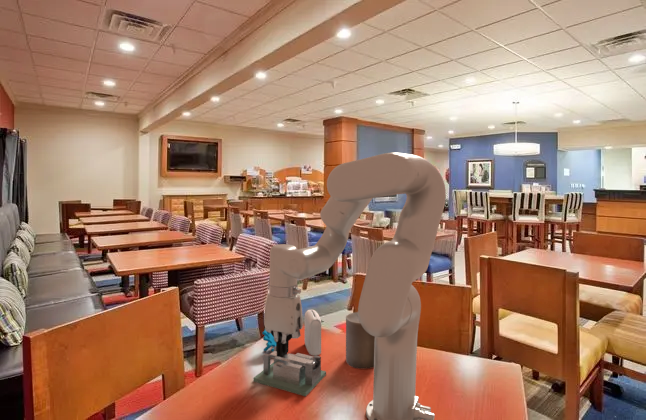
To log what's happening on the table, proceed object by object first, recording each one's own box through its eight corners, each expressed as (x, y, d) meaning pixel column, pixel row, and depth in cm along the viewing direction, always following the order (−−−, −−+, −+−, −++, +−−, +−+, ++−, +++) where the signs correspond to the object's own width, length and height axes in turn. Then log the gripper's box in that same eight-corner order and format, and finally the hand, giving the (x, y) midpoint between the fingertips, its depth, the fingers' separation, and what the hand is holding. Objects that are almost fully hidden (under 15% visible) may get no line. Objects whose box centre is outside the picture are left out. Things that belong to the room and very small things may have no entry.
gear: (279, 356, 115) (260, 329, 118) (266, 368, 116) (247, 341, 119) (294, 346, 125) (276, 321, 128) (282, 357, 127) (264, 332, 129)
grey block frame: (323, 374, 106) (323, 354, 105) (309, 388, 99) (309, 367, 98) (277, 363, 112) (277, 344, 112) (261, 375, 105) (261, 355, 105)
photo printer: (303, 342, 129) (303, 306, 128) (315, 341, 130) (316, 305, 129) (309, 356, 119) (309, 317, 118) (322, 355, 120) (322, 316, 119)
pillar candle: (384, 361, 116) (384, 312, 115) (364, 373, 109) (364, 321, 108) (358, 351, 123) (359, 305, 122) (338, 362, 116) (338, 313, 115)
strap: (317, 364, 104) (318, 360, 103) (312, 369, 101) (312, 365, 101) (275, 353, 109) (275, 349, 109) (268, 358, 107) (268, 354, 106)
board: (326, 374, 108) (326, 371, 108) (305, 396, 97) (305, 392, 97) (277, 362, 115) (277, 359, 115) (253, 381, 104) (253, 377, 104)
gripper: (313, 290, 105) (312, 355, 107) (268, 282, 112) (267, 344, 113) (300, 298, 98) (299, 367, 100) (252, 289, 105) (251, 354, 106)
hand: (282, 354), depth 107 cm, fingers closed
